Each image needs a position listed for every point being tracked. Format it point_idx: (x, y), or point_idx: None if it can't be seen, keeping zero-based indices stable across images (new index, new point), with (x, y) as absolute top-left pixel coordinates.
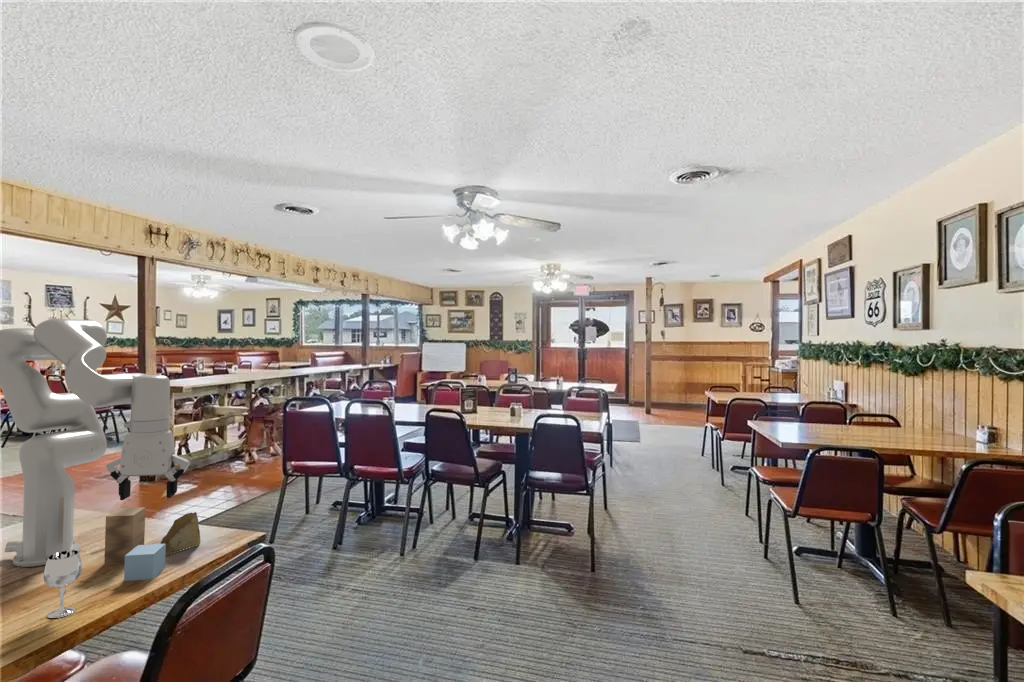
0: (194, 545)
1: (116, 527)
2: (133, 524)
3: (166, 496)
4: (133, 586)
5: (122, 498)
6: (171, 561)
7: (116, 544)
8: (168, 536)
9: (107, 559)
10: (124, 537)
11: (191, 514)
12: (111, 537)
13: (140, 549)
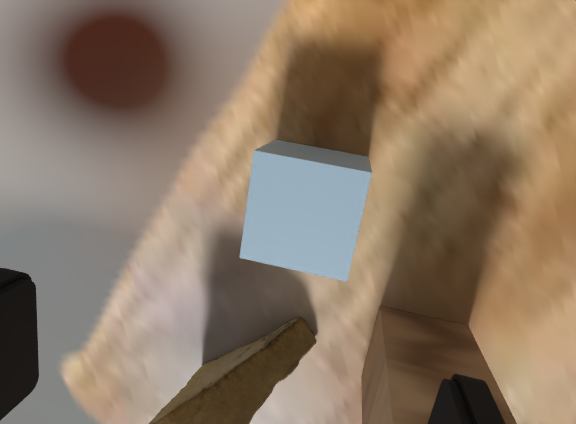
0: (211, 362)
1: None
2: (390, 409)
3: (20, 282)
4: (325, 95)
5: (460, 380)
6: (255, 268)
7: (445, 360)
8: (265, 368)
9: (462, 333)
10: (420, 372)
11: None
12: None
13: (323, 224)
